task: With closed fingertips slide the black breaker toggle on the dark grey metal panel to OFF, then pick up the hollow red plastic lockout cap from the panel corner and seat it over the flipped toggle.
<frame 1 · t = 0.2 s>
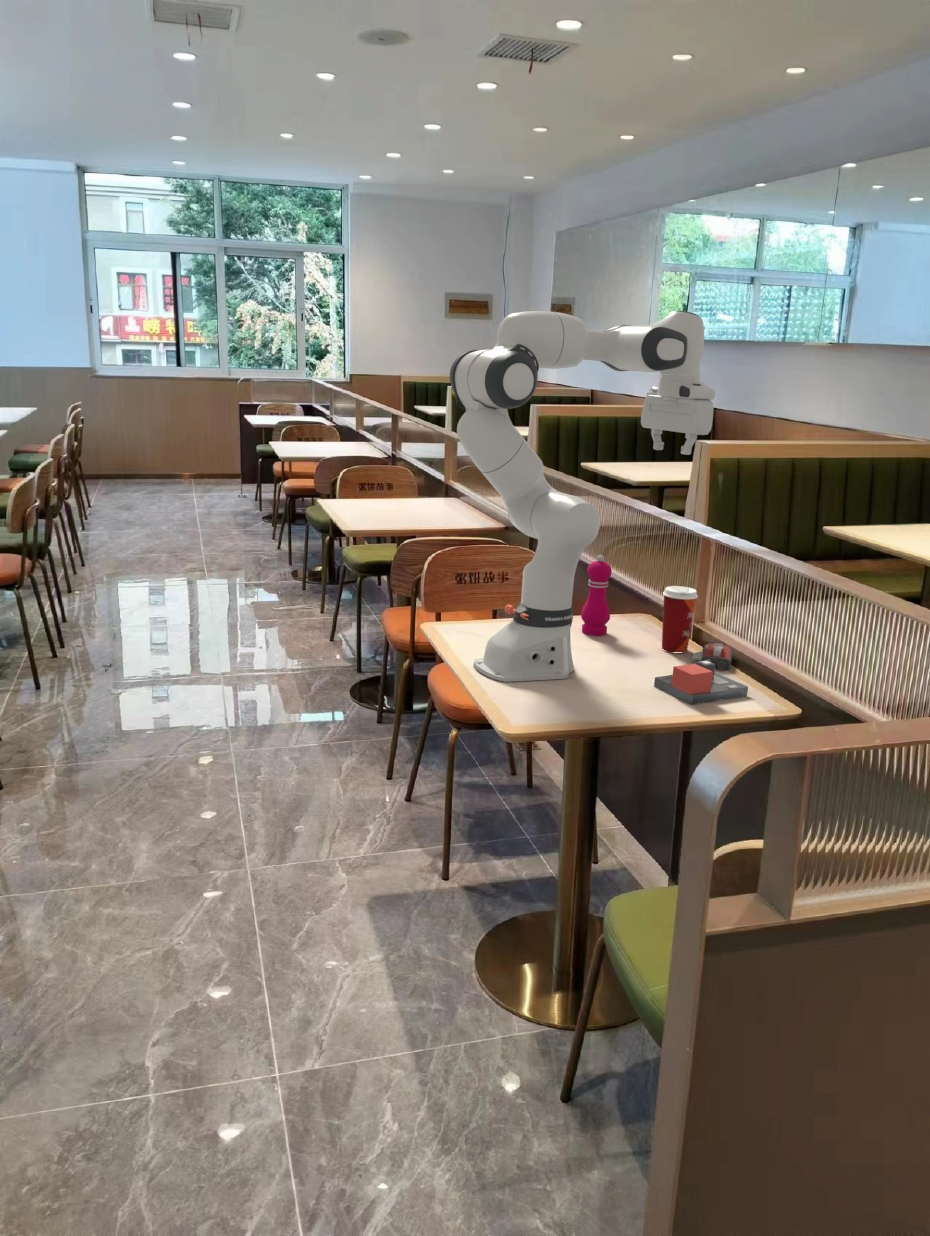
hand: (671, 452, 216), 47 cm above the table, fingers open, 8 cm apart
coffee cup: (674, 650, 232), on the table
pepper mill: (594, 633, 243), on the table
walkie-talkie: (710, 667, 221), on the table
lockout cap: (690, 688, 198), point 2 cm above the table, touching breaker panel
breaker toggle: (705, 668, 206), point 4 cm above the table, slide at 0.0 cm
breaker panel: (700, 690, 203), on the table
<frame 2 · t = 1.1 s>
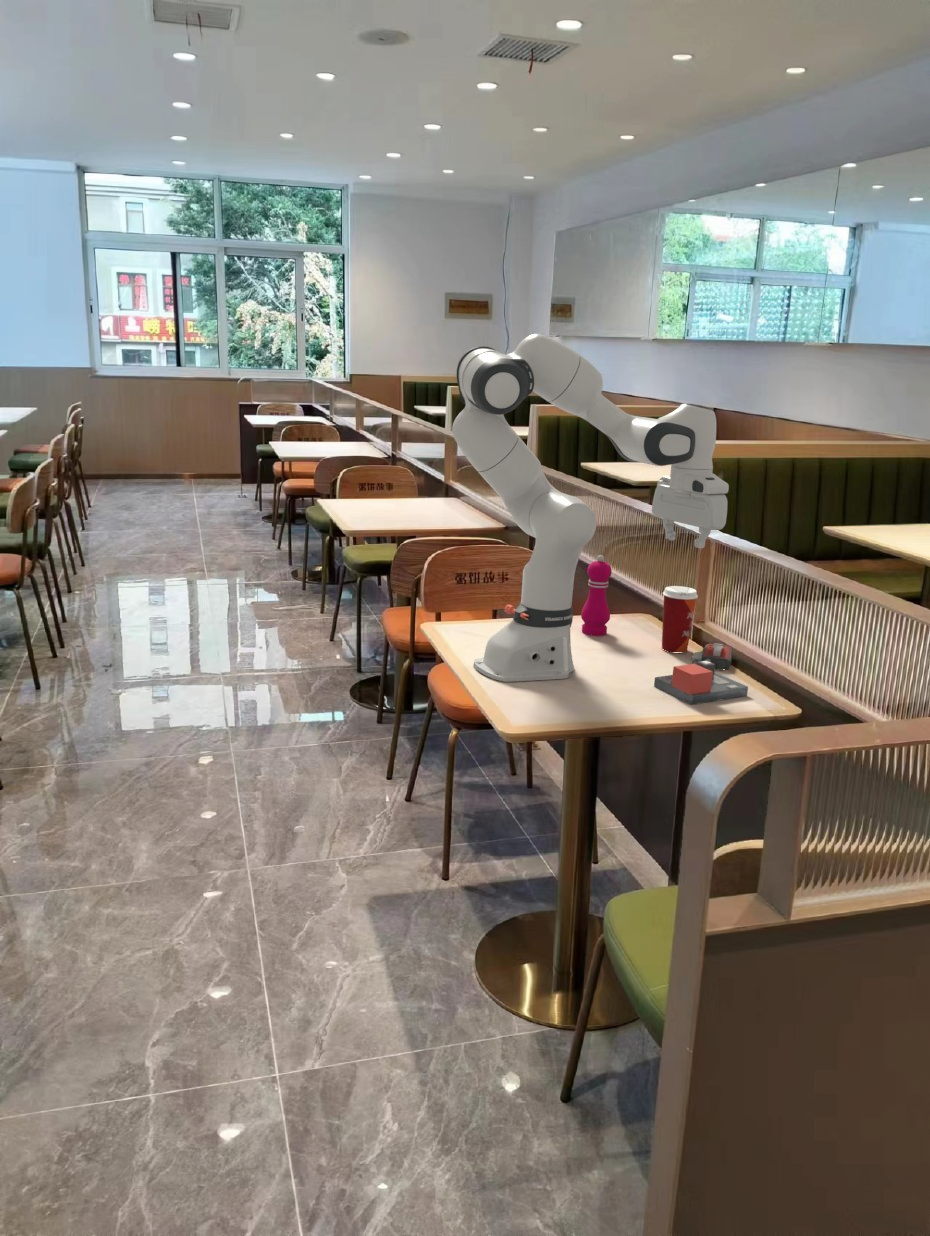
hand: (684, 543, 211), 28 cm above the table, fingers open, 8 cm apart
nothing on the table moved.
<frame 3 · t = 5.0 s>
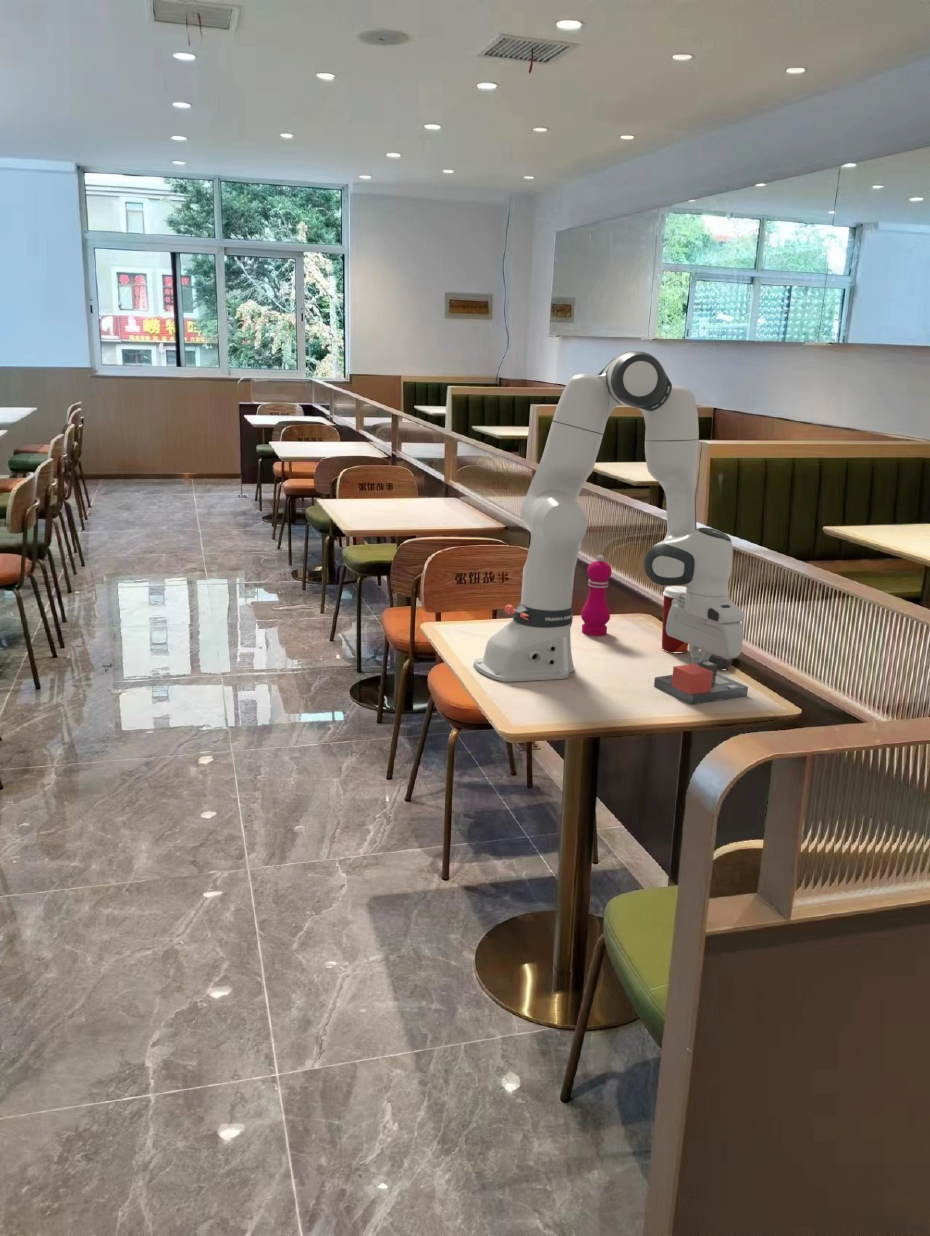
hand: (698, 666, 209), 3 cm above the table, fingers closed
breaker toggle: (707, 669, 206), point 4 cm above the table, slide at 0.6 cm, touching gripper
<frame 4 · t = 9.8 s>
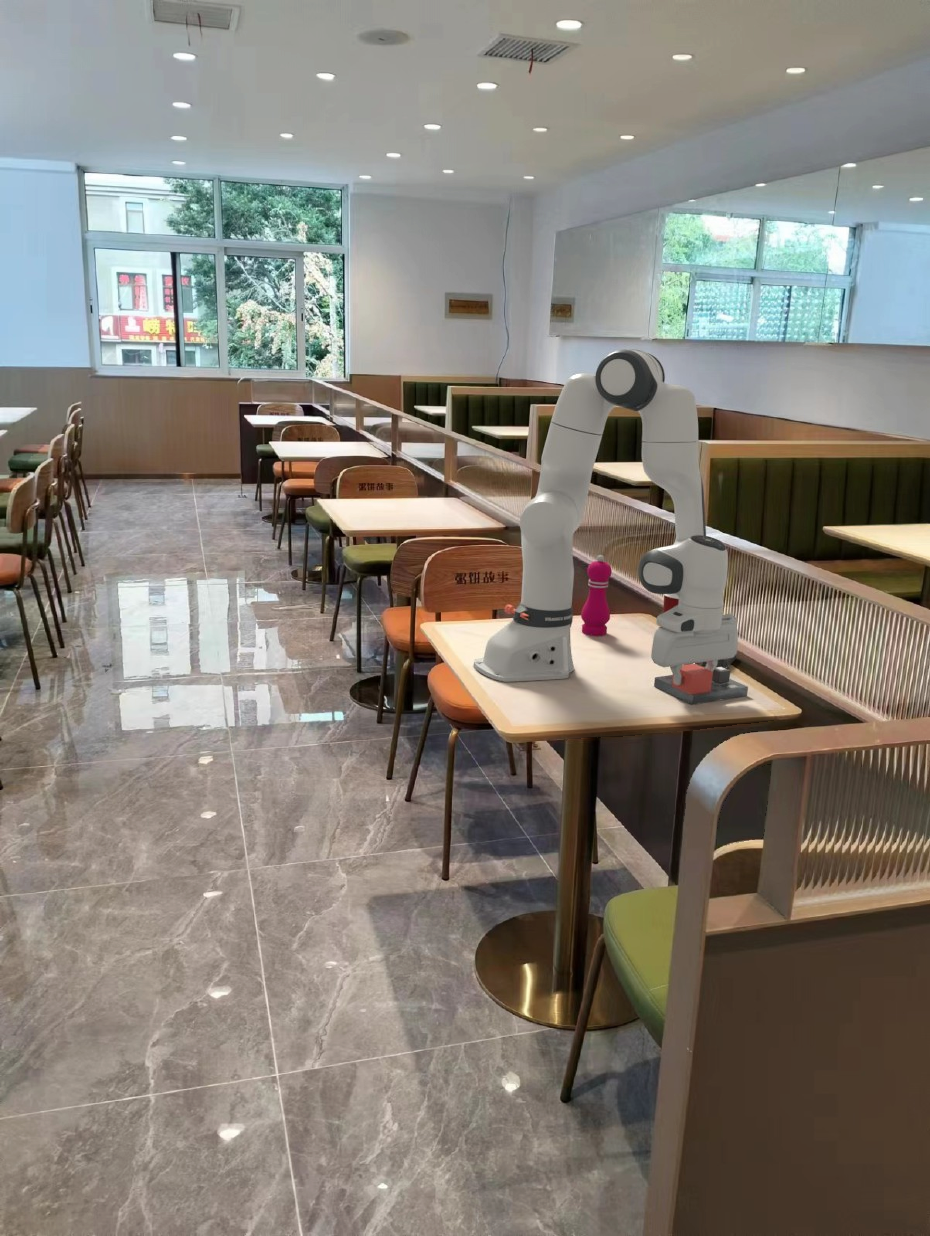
hand: (691, 682, 197), 3 cm above the table, fingers closed on lockout cap, 6 cm apart
lockout cap: (690, 688, 198), point 2 cm above the table, touching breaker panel, gripper
breaker toggle: (720, 674, 203), point 4 cm above the table, slide at 4.6 cm
when the fingers open (4 cm above the table, at t = 15.7 s): lockout cap stays where it is, resting on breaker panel.
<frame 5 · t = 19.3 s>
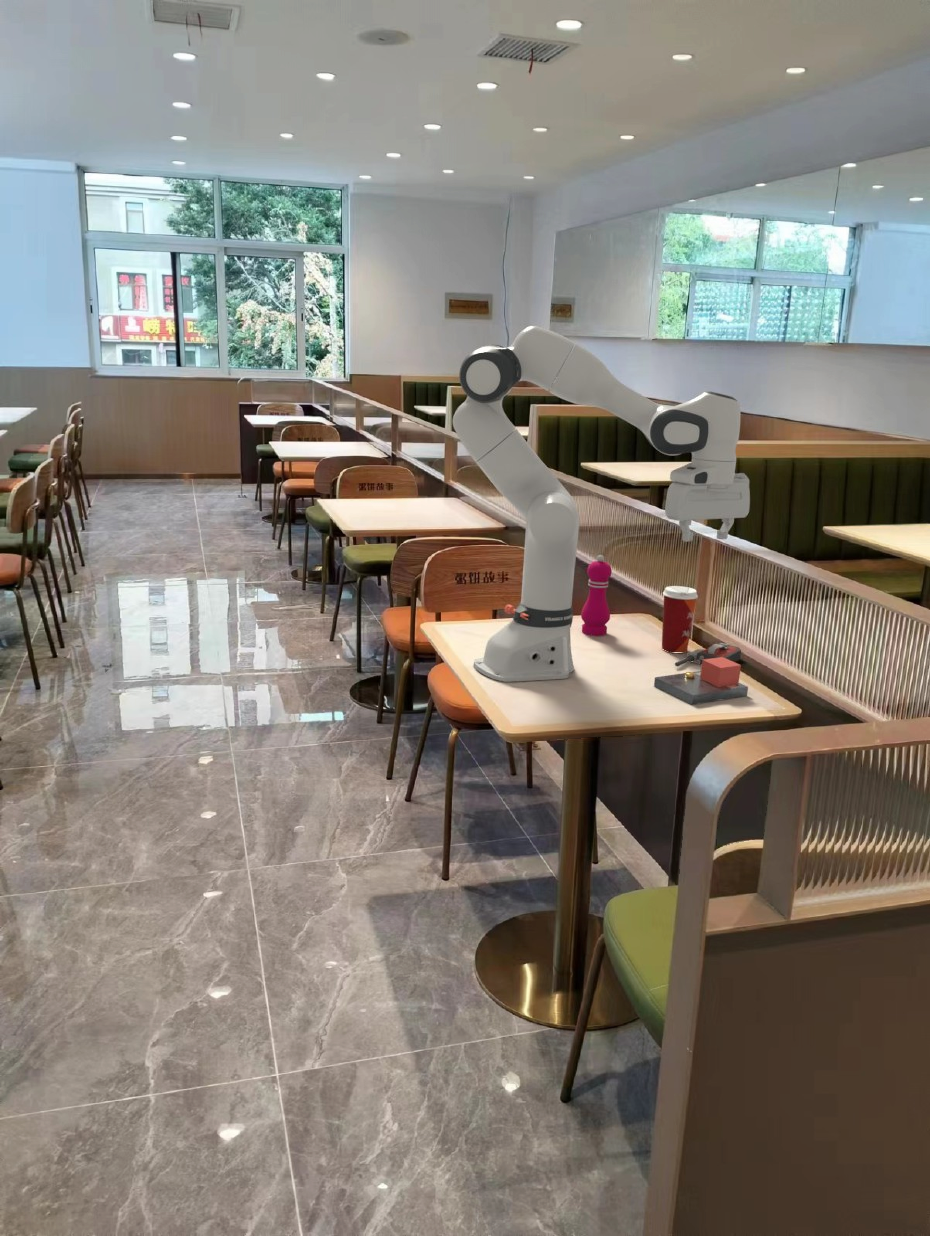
hand: (704, 540, 201), 31 cm above the table, fingers open, 8 cm apart
lockout cap: (719, 681, 203), point 2 cm above the table, touching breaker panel
at the end: breaker toggle slide at 4.6 cm; lockout cap 0.1 cm off-centre on the breaker toggle, point 2.1 cm above the breaker toggle's base; lockout cap tilted 1° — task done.
